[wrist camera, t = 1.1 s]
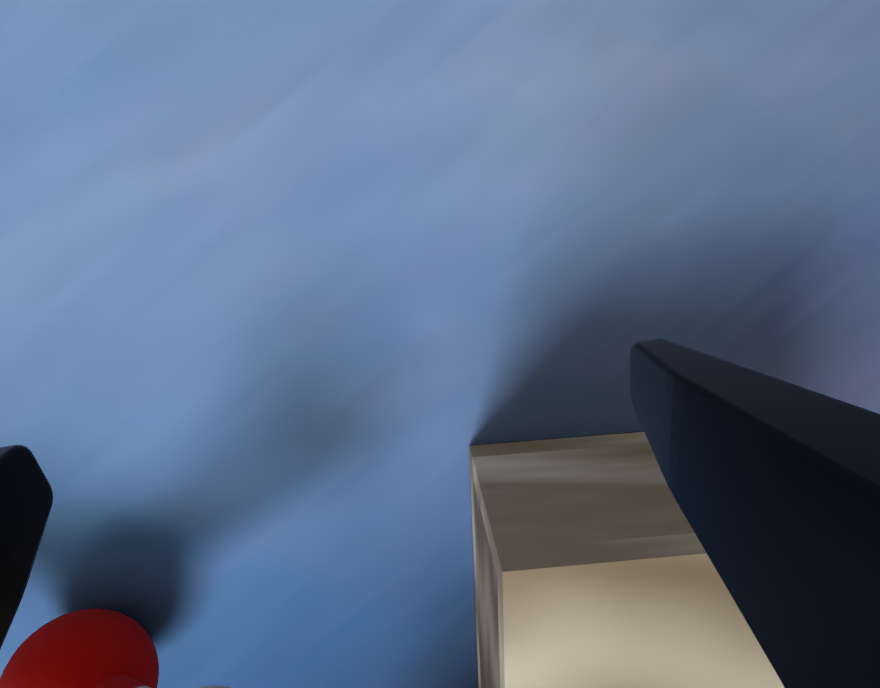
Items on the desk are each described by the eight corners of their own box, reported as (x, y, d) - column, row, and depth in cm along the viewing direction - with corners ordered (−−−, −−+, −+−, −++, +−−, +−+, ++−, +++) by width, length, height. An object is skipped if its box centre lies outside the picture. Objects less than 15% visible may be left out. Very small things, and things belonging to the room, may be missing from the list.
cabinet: (697, 734, 32) (793, 921, 24) (481, 757, 31) (510, 956, 23) (728, 425, 26) (865, 538, 19) (469, 445, 26) (502, 571, 18)
